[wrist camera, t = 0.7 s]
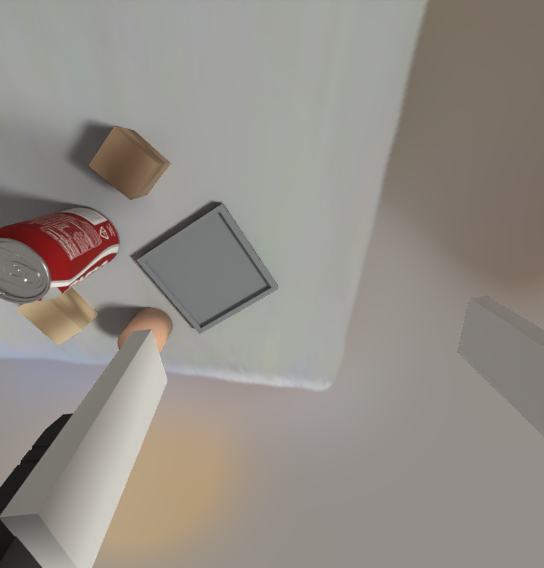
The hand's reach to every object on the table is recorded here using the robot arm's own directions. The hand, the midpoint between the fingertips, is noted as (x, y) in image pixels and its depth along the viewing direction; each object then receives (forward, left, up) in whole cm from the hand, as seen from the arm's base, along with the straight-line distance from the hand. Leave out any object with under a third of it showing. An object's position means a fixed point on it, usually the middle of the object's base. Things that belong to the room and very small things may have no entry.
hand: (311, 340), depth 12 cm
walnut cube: (-13, -9, -24) cm, 29 cm away
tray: (+1, -10, -24) cm, 26 cm away
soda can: (-10, -19, -24) cm, 32 cm away
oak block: (-5, -28, -24) cm, 37 cm away
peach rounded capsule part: (+3, -21, -24) cm, 32 cm away
